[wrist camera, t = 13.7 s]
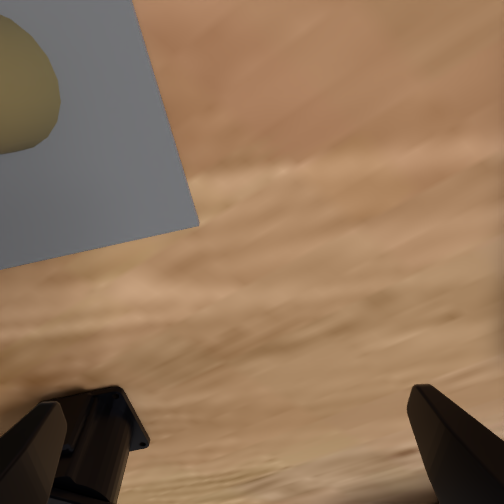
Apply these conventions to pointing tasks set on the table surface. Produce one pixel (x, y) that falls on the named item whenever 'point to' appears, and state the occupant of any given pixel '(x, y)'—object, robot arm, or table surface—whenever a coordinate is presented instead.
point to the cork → (25, 90)
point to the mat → (92, 140)
